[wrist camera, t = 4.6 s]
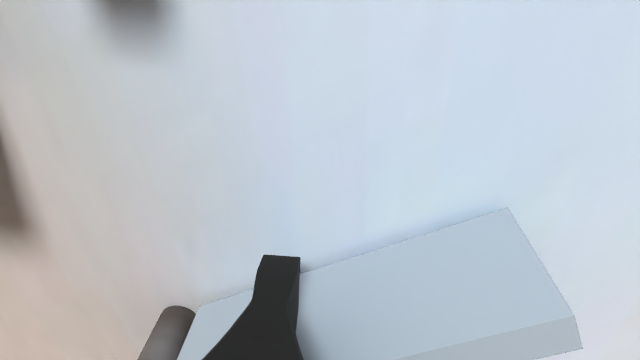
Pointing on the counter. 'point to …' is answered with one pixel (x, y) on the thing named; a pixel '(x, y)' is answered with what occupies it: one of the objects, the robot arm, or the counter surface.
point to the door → (422, 301)
